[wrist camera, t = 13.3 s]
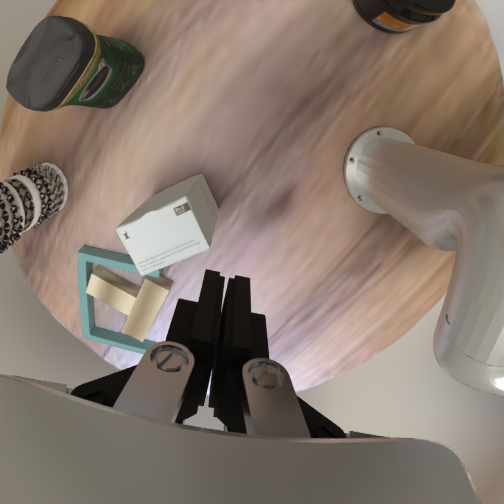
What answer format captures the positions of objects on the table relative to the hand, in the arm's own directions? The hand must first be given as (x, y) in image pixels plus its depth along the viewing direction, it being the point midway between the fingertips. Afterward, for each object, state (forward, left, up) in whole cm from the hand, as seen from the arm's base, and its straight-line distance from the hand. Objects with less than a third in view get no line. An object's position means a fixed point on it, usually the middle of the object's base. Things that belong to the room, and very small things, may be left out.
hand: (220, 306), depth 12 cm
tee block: (+14, +23, -32) cm, 42 cm away
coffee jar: (+20, -10, -32) cm, 39 cm away
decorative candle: (+29, +8, -32) cm, 44 cm away
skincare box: (+6, +6, -32) cm, 33 cm away
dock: (+14, +25, -32) cm, 43 cm away
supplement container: (-14, -30, -32) cm, 46 cm away
